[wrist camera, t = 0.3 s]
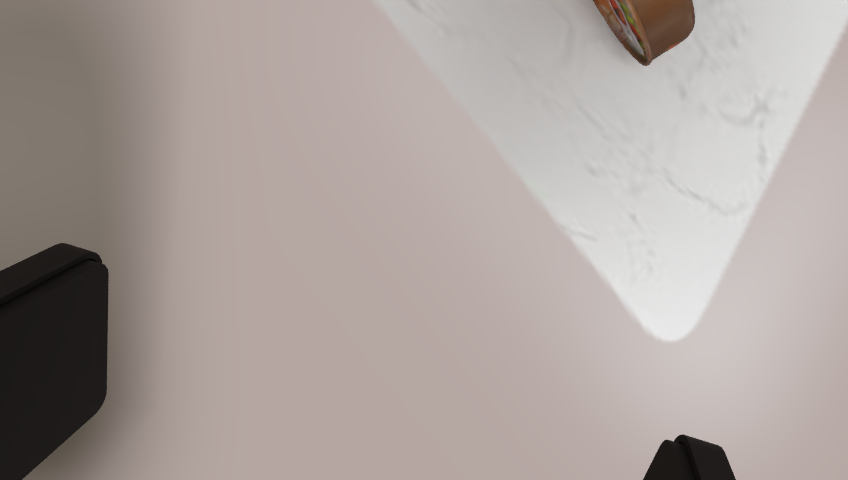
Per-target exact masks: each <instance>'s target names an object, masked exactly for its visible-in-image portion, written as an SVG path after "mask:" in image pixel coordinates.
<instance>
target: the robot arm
mask: <svg viewBox="0 0 848 480" xmlns="http://www.w3.org/2000/svg"><path fill="white" fill-rule="evenodd" d="M107 331H108V269H107V268H106V266H105V265H104V264H102V260H101V258H100V256H99V255H98V254H97V253H95V252H92V251H89V250H85V249H82V248H79V247H76V246H72V245H69V244H65V243H60V244H57V245H54V246H52V247H50V248H48V249H46V250H44V251H42V252H39V253H38V254H35V255H33V256H31V257H29V258H27V259H25V260H23V261H21V262H18V263H16V264H14V265H12V266H10V267H8V268H6V269H4V270H2V271H0V480H22V479H23V478H24V477H25V476H26V475H28V474H29V473H30V472H31V471H32V470H33V469H34V468H35V467H37V466H38V465H39V464H40V463H41V462H42V461H43V460H44V459H46V458H47V457H48V456H49V455H50V454H51V453H52V452H53V451H54V450H56V449H57V448H58V447H59V446H60V445H61V444H62V443H63V442H65V440H67V439H68V438H69V437H70V436H71V435H72V434H73V433H75V432H76V431H77V430H78V429H79V428H80V427H81V426H82V425H84V424H85V423H86V422H87V421H88V420H89V419H90V418H91V417H93V415H95V414H96V413H97V411H98V410H99V409H100V407H101V406H102V404H103V402H104V400H105V397H106V391H107V390H106V389H107ZM643 480H736V479H735V477H734V474H733V472H732V469H731V467H730V464H729V462H728V459H727V457H726V454H725V452H724V450H723V449H722V447H720V446H718V445H715V444H712V443H709V442H705V441H702V440H699V439H696V438H693V437H689V436H686V435H679V436H678V437H677V438H676V439H675V440H674V442H673V441H670V440H665V441H664V442H662V444H661V445H660V447H659V449H658V451H657V453H656V455H655V457H654V459H653V461H652V463H651V465H650V467H649V469H648V471H647V473H646V475H645V477H644V479H643Z"/></svg>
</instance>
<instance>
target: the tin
mask: <svg viewBox="0 0 848 480" xmlns="http://www.w3.org/2000/svg"><path fill="white" fill-rule="evenodd" d="M593 1H594V2H595V4H596V6H597V8H598V9H599V11H600V12H601V14H602V15H603V17H604V18H605V20H606V22H607V23H608V25H609V26H610V28H611V29H612V31H613V32H614V34H615V35H616V37H617V38H618V39H619V41H620V42H621V43H622V44H623V46H624V47H625V48H626V49H627V50H628V52H629V53H630V54H631V55H632V56H633V57H634V58H635V59H636V60H637V61H638V62H639V63H641V64H642V65H645V66H647V65H649V64H650V63H651V62H652V60H653V59H655V58H656V57H658V56H660V55H661V54H663V53H664V52H666V51H668V50H669V49H671V48H673V47H674V46H676V45H677V44H679V43H680V42H682V41H683V40H684V39H686V38H687V37H688V36H689V34H690V33H691V31H692V30H693V27H694V24H695V14H694V7H693V2H692V0H593Z"/></svg>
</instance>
